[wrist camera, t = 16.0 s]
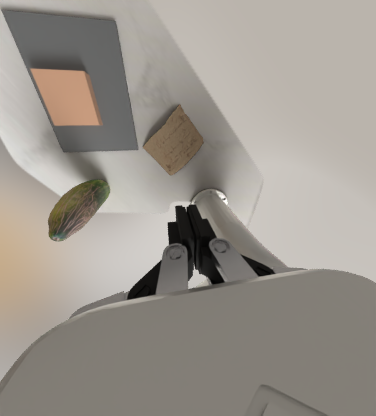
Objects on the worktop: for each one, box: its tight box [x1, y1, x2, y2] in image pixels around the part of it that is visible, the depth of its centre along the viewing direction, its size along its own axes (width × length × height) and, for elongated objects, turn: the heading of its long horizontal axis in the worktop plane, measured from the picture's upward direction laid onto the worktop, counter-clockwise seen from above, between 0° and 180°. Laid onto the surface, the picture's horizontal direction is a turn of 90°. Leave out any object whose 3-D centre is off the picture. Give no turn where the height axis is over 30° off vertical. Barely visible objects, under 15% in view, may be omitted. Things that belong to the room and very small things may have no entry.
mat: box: [2, 10, 138, 152], centre depth 27 cm, size 20×16×1 cm
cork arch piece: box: [143, 105, 203, 175], centre depth 34 cm, size 14×10×3 cm
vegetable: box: [48, 180, 110, 241], centre depth 28 cm, size 6×6×20 cm
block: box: [30, 69, 103, 126], centre depth 26 cm, size 8×2×8 cm
